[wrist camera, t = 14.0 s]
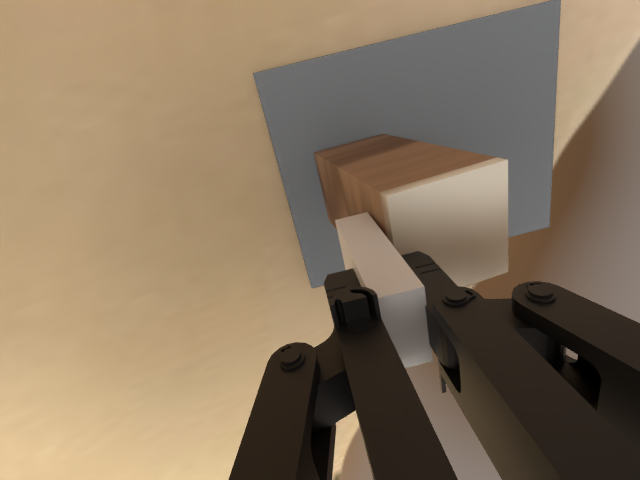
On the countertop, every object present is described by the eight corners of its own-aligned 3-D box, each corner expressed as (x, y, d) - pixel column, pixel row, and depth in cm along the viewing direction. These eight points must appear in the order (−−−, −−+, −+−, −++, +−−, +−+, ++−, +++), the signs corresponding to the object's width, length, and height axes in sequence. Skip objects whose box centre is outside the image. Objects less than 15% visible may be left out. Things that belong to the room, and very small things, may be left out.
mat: (253, 73, 22) (253, 73, 22) (553, 0, 23) (560, -2, 22) (311, 284, 29) (311, 288, 28) (544, 224, 29) (549, 226, 29)
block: (313, 152, 24) (386, 196, 13) (382, 133, 24) (508, 159, 13) (329, 220, 26) (403, 308, 15) (392, 201, 26) (508, 271, 15)
